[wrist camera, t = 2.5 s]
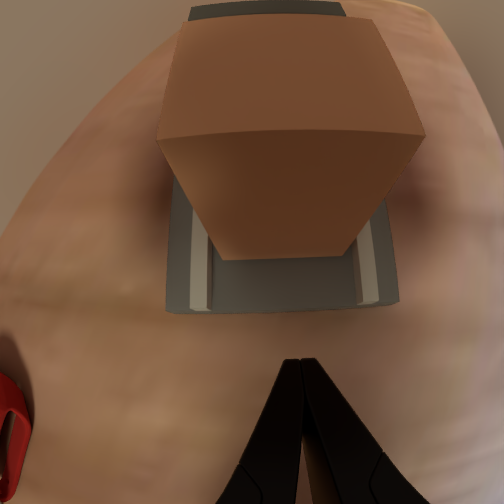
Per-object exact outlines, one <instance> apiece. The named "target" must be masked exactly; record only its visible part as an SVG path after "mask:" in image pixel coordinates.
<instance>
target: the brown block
mask: <svg viewBox="0 0 504 504" xmlns="http://www.w3.org/2000/svg"><path fill="white" fill-rule="evenodd" d="M425 136H426V135H425V132H424V129H423V126H422V124H421V121H420V119H419V116H418V113H417V111H416V108H415V106H414V104H413V101H412V99H411V96H410V94H409V92H408V89H407V87H406V85H405V83H404V81H403V78H402V76H401V74H400V72H399V70H398V68H397V66H396V64H395V62H394V60H393V58H392V56H391V54H390V52H389V50H388V48H387V46H386V44H385V42H384V40H383V39H382V37H381V35H380V33H379V31H378V30H377V28H376V26H375V24H374V23H373V21H372V20H370V19H363V18H355V17H345V16H334V15H319V14H253V15H237V16H226V17H216V18H208V19H200V20H193V21H187V22H183V24H182V27H181V31H180V34H179V38H178V41H177V45H176V49H175V53H174V57H173V61H172V65H171V69H170V73H169V78H168V82H167V86H166V91H165V96H164V100H163V105H162V110H161V115H160V121H159V126H158V131H157V137H156V141H157V143H158V145H159V147H160V148H161V150H162V152H163V154H164V156H165V158H166V160H167V161H168V163H169V165H170V167H171V169H172V171H173V172H174V174H175V176H176V178H177V180H178V182H179V183H180V185H181V187H182V189H183V191H184V192H185V194H186V196H187V198H188V200H189V201H190V203H191V205H192V207H193V209H194V210H195V212H196V214H197V216H198V218H199V219H200V221H201V223H202V225H203V226H204V228H205V230H206V232H207V234H208V235H209V237H210V239H211V241H212V242H213V244H214V246H215V248H216V249H217V251H218V253H219V255H220V256H221V258H222V260H249V259H277V258H304V257H329V256H342V255H343V254H344V253H345V251H346V250H347V249H348V247H349V246H350V245H351V243H352V242H353V241H354V239H355V238H356V237H357V235H358V234H359V233H360V231H361V230H362V229H363V227H364V226H365V224H366V223H367V222H368V220H369V219H370V218H371V216H372V215H373V213H374V212H375V211H376V209H377V208H378V206H379V205H380V204H381V202H382V201H383V199H384V198H385V196H386V195H387V194H388V192H389V191H390V189H391V188H392V186H393V185H394V183H395V182H396V180H397V179H398V177H399V176H400V175H401V173H402V172H403V170H404V169H405V167H406V166H407V164H408V163H409V161H410V160H411V158H412V156H413V155H414V153H415V152H416V150H417V149H418V147H419V146H420V144H421V143H422V141H423V139H424V138H425Z"/></svg>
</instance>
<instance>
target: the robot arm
mask: <svg viewBox="0 0 504 504" xmlns="http://www.w3.org/2000/svg"><path fill="white" fill-rule="evenodd" d="M301 443H303V448H304V454H305V460H306V465H307V471H308V477H309V483H310V488H311V494H312V500H313V504H430V503H429V502H428V501H427V500H426V499H425V498H424V497H423V496H422V495H421V494H420V493H419V492H418V491H417V490H416V489H415V488H414V487H413V486H412V485H411V484H410V483H409V482H408V481H407V480H406V479H405V477H404V476H403V475H402V474H401V473H400V471H399V470H398V469H397V468H396V466H395V465H394V464H393V463H392V461H391V460H390V459H389V457H388V456H387V455H386V453H385V452H383V449H382V448H381V447H380V445H379V444H378V443H377V441H376V440H375V439H374V437H373V436H372V434H371V433H370V432H369V430H368V429H367V428H366V426H365V425H364V424H363V422H362V421H361V420H360V418H359V417H358V415H357V414H356V413H355V411H354V410H353V409H352V407H351V406H350V404H349V403H348V402H347V400H346V399H345V398H344V396H343V395H342V394H341V392H340V391H339V389H338V388H337V387H336V385H335V384H334V383H333V381H332V380H331V378H330V377H329V376H328V374H327V373H326V371H325V370H324V369H323V367H322V366H321V365H320V363H319V362H318V360H317V359H315V358H302V359H301V360H299V359H285V360H284V361H283V363H282V366H281V368H280V371H279V373H278V376H277V378H276V380H275V383H274V385H273V387H272V390H271V392H270V395H269V397H268V399H267V401H266V404H265V406H264V408H263V411H262V413H261V415H260V417H259V420H258V422H257V424H256V426H255V429H254V431H253V433H252V435H251V437H250V439H249V442H248V444H247V446H246V448H245V450H244V452H243V454H242V456H241V459H240V461H239V464H238V465H237V466H236V469H235V471H234V473H233V475H232V477H231V478H230V480H229V482H228V484H227V486H226V488H225V489H224V491H223V493H222V494H221V496H220V497H219V499H218V500H217V502H216V503H215V504H295V500H296V492H297V483H298V474H299V464H300V454H301Z"/></svg>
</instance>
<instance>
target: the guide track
mask: <svg viewBox="0 0 504 504" xmlns="http://www.w3.org/2000/svg"><path fill="white" fill-rule="evenodd" d="M253 14H319V15H334V16H345V17H346V14H345V12H344V10H343V8H342V6H341V4H340V3H339V2H327V1H309V0H258V1H241V2H229V3H219V4H210V5H202V6H196V7H191V11H190V15H189V18H188V21H193V20H200V19H208V18H216V17H226V16H237V15H253ZM397 302H400V301H399V291H398V281H397V272H396V264H395V257H394V249H393V243H392V236H391V230H390V224H389V218H388V213H387V207H386V202H385V198H384V199H383V201H382V202H381V204H380V205H379V206H378V208H377V209H376V211H375V212H374V213H373V215H372V216H371V218H370V219H369V220H368V222H367V223H366V224H365V226H364V227H363V229H362V230H361V231H360V233H359V234H358V235H357V237H356V238H355V239H354V241H353V242H352V243H351V245H350V246H349V247H348V249H347V250H346V251H345V253H344V254H343V255H342V256H329V257H304V258H277V259H249V260H222V258H221V256H220V255H219V253H218V251H217V249H216V248H215V246H214V244H213V242H212V241H211V239H210V237H209V235H208V234H207V232H206V230H205V228H204V226H203V225H202V223H201V221H200V219H199V218H198V216H197V214H196V212H195V210H194V209H193V207H192V205H191V203H190V201H189V200H188V198H187V196H186V194H185V192H184V191H183V189H182V187H181V185H180V183H179V182H178V180H177V178H176V176H175V174H174V180H173V190H172V201H171V213H170V226H169V241H168V258H167V280H166V311H168V312H171V313H174V314H232V313H271V312H296V311H316V310H333V309H348V308H362V307H375V306H386V305H392V304H394V303H397Z"/></svg>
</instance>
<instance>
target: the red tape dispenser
mask: <svg viewBox="0 0 504 504" xmlns="http://www.w3.org/2000/svg"><path fill="white" fill-rule="evenodd" d="M10 410H11V411H13V412H14V413H15V414H16V418H15V422H14V426H13V430H12V434H11V439H10V443H9V448H8V453H7V458H6V464H5V469H4V472H3V476H2V479H1V480H0V504H3V502H6V501H8V500H10V499H11V498H12V497H13V495H14V494H15V491H16V488H17V485H18V481H19V477H20V473H21V469H22V465H23V461H24V457H25V453H26V450H27V446H28V443H29V439H30V436H31V424H30V420H29V416H28V412H27V408H26V404H25V400H24V396H23V393H22V391H21V390H20V389H19V387H18V386H17V385H16V384H15V383H14V382H13V381H12V380H11V379H10V378H8V377H7V376H5V375H4V374H3V373H1V372H0V433H1V428H2V425H3V422H4V419H5V416H6V414H7V412H8V411H10Z"/></svg>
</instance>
